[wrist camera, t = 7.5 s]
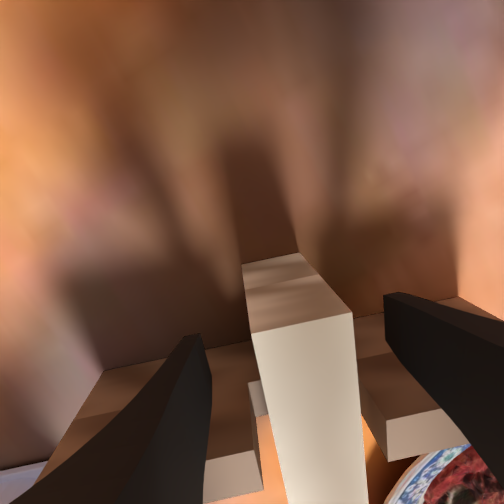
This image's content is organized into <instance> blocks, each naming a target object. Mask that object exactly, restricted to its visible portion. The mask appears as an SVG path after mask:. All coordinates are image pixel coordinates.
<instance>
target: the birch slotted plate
mask: <svg viewBox="0 0 504 504" xmlns="http://www.w3.org/2000/svg"><path fill="white" fill-rule="evenodd" d="M241 267H242V274H243V281H244V288H245V295H246V302H247V309H248V316H249V323H250V330H251V336H252V341H253V345H254V350H255V354H256V359H257V363H258V368H259V372H260V377H261V381H262V386H263V390H264V395H265V399H266V404H267V409H268V413H269V418H270V422H271V427H272V431H273V436H274V440H275V445H276V449H277V454H278V458H279V463H280V467H281V472H282V476H283V481H284V485H285V490H286V494H287V499H288V503H289V504H369V501H368V489H367V478H366V466H365V455H364V443H363V431H362V420H361V408H360V397H359V385H358V373H357V362H356V350H355V339H354V327H353V315H352V311H351V310H350V309H349V308H348V307H347V306H346V304H345V303H344V302H343V301H342V300H341V299H340V298H339V297H338V295H337V294H336V293H335V292H334V291H333V290H332V289H331V287H330V286H329V285H328V284H327V283H326V282H325V281H324V280H323V278H322V277H321V276H320V275H319V274H318V273H317V272H316V270H315V269H314V268H313V267H312V266H311V265H310V264H309V262H308V261H307V260H306V259H305V258H304V257H303V256H302V255H301V253H300V252H299V253H294V254H290V255H285V256H280V257H275V258H271V259H266V260H261V261H256V262H251V263H247V264H242V265H241Z"/></svg>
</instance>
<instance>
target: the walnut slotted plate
mask: <svg viewBox="0 0 504 504" xmlns="http://www.w3.org/2000/svg"><path fill="white" fill-rule="evenodd" d="M436 303H439V304H442V305H446V306H449V307H452V308H455V309H459V310H462V311H465V312H469V313H472V314H476V315H479V316H483V317H487V318H491V319H494V320H498V321H502V322H504V321H503V320H501V319H499V318H497V317H495V316H493V315H492V314H490V313H488V312H486V311H484V310H482V309H481V308H479V307H477V306H475V305H473V304H471V303H470V302H468V301H466V300H464V299H462V298H460V297H455V298H450V299H445V300H441V301H436ZM353 327H354V339H355V350H356V362H357V373H358V385H359V397H360V408H361V414H362V416H363V418H364V419H365V421H366V423H367V425H368V427H369V428H370V430H371V432H372V434H373V436H374V438H375V439H376V441H377V443H378V445H379V447H380V448H381V450H382V452H383V454H384V456H385V458H386V459H387V461H388V462H391V461H395V460H399V459H404V458H408V457H413V456H417V455H421V454H426V453H430V452H435V451H439V450H444V449H448V448H452V447H457V446H461V445H466V444H470V443H469V441H468V440H467V439H466V437H465V436H464V435H463V433H462V432H461V431H460V429H459V428H458V427H457V426H456V425H455V424H454V422H453V421H452V420H451V419H450V418H449V416H448V415H447V414H446V413H445V412H444V411H443V410H442V409H441V407H440V406H439V405H438V404H437V403H436V402H435V401H434V400H433V399H432V397H431V396H430V395H429V394H428V393H427V392H426V391H425V390H424V389H423V387H422V386H421V385H420V384H419V383H418V382H417V381H416V380H415V378H414V377H413V376H412V375H411V374H410V373H409V372H408V371H407V369H406V368H405V367H404V366H403V365H402V364H401V362H400V361H399V360H398V358H397V357H396V355H395V354H394V353H393V351H392V350H391V348H390V347H389V345H388V344H387V342H386V341H385V327H384V312H383V313H379V314H374V315H369V316H364V317H359V318H355V319H353ZM205 353H206V356H207V360H208V363H209V367H210V371H211V374H212V411H211V420H210V428H209V437H208V446H207V454H206V463H205V472H204V485H203V504H205V503H209V502H214V501H218V500H223V499H227V498H231V497H236V496H240V495H245V494H249V493H253V492H258V491H262V490H264V488H263V479H262V470H261V461H260V452H259V443H258V434H257V426H256V417H258V416H262V415H267V414H269V413H268V409H267V404H266V399H265V395H264V390H263V386H262V381H261V377H260V372H259V368H258V363H257V359H256V354H255V350H254V345H253V341H252V340H250V341H245V342H240V343H235V344H231V345H226V346H221V347H216V348H211V349H207V350H205ZM166 359H167V358H164V359H159V360H154V361H149V362H145V363H140V364H135V365H130V366H126V367H121V368H116V369H111V370H106V371H104V372H103V373H102V375H101V376H100V378H99V380H98V381H97V383H96V385H95V386H94V388H93V389H92V391H91V393H90V394H89V396H88V397H87V399H86V401H85V402H84V404H83V406H82V407H81V409H80V410H79V412H78V414H77V415H76V417H75V418H74V420H73V422H72V423H71V425H70V426H69V428H68V430H67V431H66V433H65V435H64V436H63V438H62V439H61V441H60V443H59V444H58V446H57V447H56V449H55V451H54V452H53V454H52V456H51V457H50V459H49V460H48V462H47V464H46V465H45V467H44V468H43V470H42V472H41V473H40V475H39V476H38V478H37V480H36V481H35V483H34V485H35V484H36V483H37V482H39V481H40V480H41V479H43V478H44V477H45V476H47V475H48V474H49V473H50V472H52V471H53V470H54V469H56V468H57V467H58V466H59V465H61V464H62V463H63V462H64V461H66V460H67V459H68V458H69V457H70V456H72V455H73V454H74V453H75V452H76V451H77V450H79V449H80V448H81V447H82V446H83V445H84V444H86V443H87V442H88V441H89V440H90V439H91V438H92V437H94V436H95V435H96V434H97V433H98V432H99V431H101V430H102V429H103V428H104V427H105V426H106V425H107V424H108V423H109V422H110V421H111V420H112V419H113V418H114V417H115V416H116V415H117V414H118V413H119V412H120V411H122V410H123V409H124V407H125V406H126V405H127V404H128V403H129V402H130V401H131V400H132V399H133V398H134V397H135V396H136V395H137V394H138V392H139V391H140V390H141V389H142V388H143V387H144V386H145V384H146V383H147V382H148V381H149V380H150V379H151V378H152V376H153V375H154V374H155V373H156V372H157V370H158V369H159V368H160V367H161V365H162V364H163V363H164V362H165V360H166Z"/></svg>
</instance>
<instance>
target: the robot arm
mask: <svg viewBox="0 0 504 504" xmlns="http://www.w3.org/2000/svg"><path fill="white" fill-rule="evenodd" d="M383 300H384V327H385V341H386V342H387V344H388V345H389V347H390V348H391V350H392V351H393V353H394V354H395V355H396V357H397V358H398V360H399V361H400V362H401V364H402V365H403V366H404V367H405V368H406V369H407V371H408V372H409V373H410V374H411V375H412V376H413V377H414V378H415V380H416V381H417V382H418V383H419V384H420V385H421V386H422V387H423V389H424V390H425V391H426V392H427V393H428V394H429V395H430V396H431V397H432V399H433V400H434V401H435V402H436V403H437V404H438V405H439V406H440V407H441V409H442V410H443V411H444V412H445V413H446V414H447V415H448V416H449V418H450V419H451V420H452V421H453V422H454V424H455V425H456V426H457V427H458V428H459V429H460V431H461V432H462V433H463V435H464V436H465V437H466V439H467V440H468V441H469V443H470V444H471V445H472V447H473V448H474V449H475V451H476V452H477V453H478V455H479V456H480V457H481V459H482V460H483V461H484V463H485V464H486V465H487V467H488V468H489V470H490V471H491V472H492V474H493V475H494V477H495V478H496V479H497V481H498V482H499V483H500V485H501V486H502V488H503V489H504V322H502V321H498V320H494V319H491V318H487V317H483V316H479V315H476V314H472V313H469V312H465V311H462V310H459V309H455V308H452V307H449V306H446V305H442V304H439V303H436V302H433V301H430V300H426V299H423V298H420V297H416V296H413V295H409V294H406V293H401V292H396V293H391V294H387V295H383ZM211 411H212V374H211V371H210V367H209V363H208V360H207V356H206V353H205V349H204V345H203V342H202V338H201V335H200V333H199V334H194V335H189V336H184V337H183V339H182V340H181V341H180V342H179V344H178V345H177V346H176V348H175V349H174V350H173V351H172V353H171V354H170V355H169V357H168V358H167V359H166V360H165V362H164V363H163V364H162V365H161V367H160V368H159V369H158V370H157V372H156V373H155V374H154V375H153V376H152V378H151V379H150V380H149V381H148V382H147V383H146V384H145V386H144V387H143V388H142V389H141V390H140V391H139V392H138V394H137V395H136V396H135V397H134V398H133V399H132V400H131V401H130V402H129V403H128V404H127V405H126V406H125V407H124V409H123V410H122V411H120V412H119V413H118V414H117V415H116V416H115V417H114V418H113V419H112V420H111V421H110V422H109V423H108V424H107V425H106V426H105V427H104V428H103V429H102V430H101V431H99V432H98V433H97V434H96V435H95V436H94V437H92V438H91V439H90V440H89V441H88V442H87V443H86V444H84V445H83V446H82V447H81V448H80V449H79V450H77V451H76V452H75V453H74V454H73V455H72V456H70V457H69V458H68V459H67V460H66V461H64V462H63V463H62V464H61V465H59V466H58V467H57V468H56V469H54V470H53V471H52V472H50V473H49V474H48V475H47V476H45V477H44V478H43V479H41V480H40V481H39V482H37V483H36V484H35V485H34V483H35V481H36V480H37V478H38V476H39V475H40V473H41V472H42V470H43V468H44V467H45V465H46V464H47V462H48V461H45V462H40V463H36V464H31V465H26V466H22V467H17V468H13V469H8V470H4V471H0V504H203V485H204V472H205V463H206V454H207V446H208V437H209V428H210V420H211Z"/></svg>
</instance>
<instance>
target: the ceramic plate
mask: <svg viewBox="0 0 504 504" xmlns="http://www.w3.org/2000/svg"><path fill="white" fill-rule="evenodd" d="M384 504H504V489H503V488H502V486H501V485H500V483H499V482H498V481H497V479H496V478H495V477H494V475H493V474H492V472H491V471H490V470H489V468H488V467H487V465H486V464H485V463H484V461H483V460H482V459H481V457H480V456H479V455H478V453H477V452H476V451H475V449H474V448H473V447H472V445H471V444H466V445H461V446H457V447H452V448H448V449H444V450H439V451H435V452H430V453H426V454H421V455H420V456H419V457H418V458H417V459H416V460H415V461H414V462H413V463H412V464H411V465H410V466H409V467H408V468H407V470H406V471H405V472H404V473H403V475H402V476H401V477H400V479H399V480H398V482H397V483H396V484H395V486H394V487H393V489H392V490H391V492H390V493H389V495H388V496H387V498H386V500H385V502H384Z"/></svg>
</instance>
